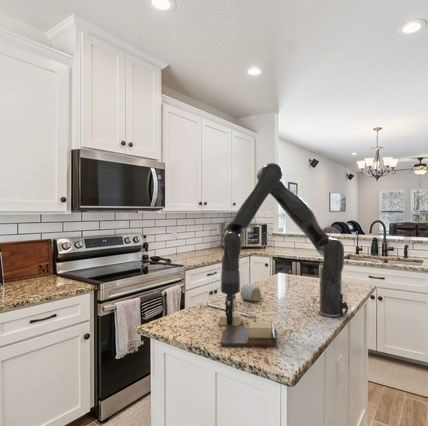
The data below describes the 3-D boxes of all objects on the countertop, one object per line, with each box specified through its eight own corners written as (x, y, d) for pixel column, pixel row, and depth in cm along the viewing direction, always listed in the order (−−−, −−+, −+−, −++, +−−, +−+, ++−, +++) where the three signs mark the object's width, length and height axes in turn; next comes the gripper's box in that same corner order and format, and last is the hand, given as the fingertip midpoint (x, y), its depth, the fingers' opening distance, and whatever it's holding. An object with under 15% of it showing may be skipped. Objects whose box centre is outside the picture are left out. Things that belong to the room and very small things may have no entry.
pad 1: (240, 320, 124) (240, 312, 124) (240, 325, 119) (240, 316, 119) (221, 320, 124) (221, 312, 124) (219, 325, 119) (219, 316, 119)
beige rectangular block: (271, 332, 110) (271, 322, 110) (271, 337, 105) (271, 327, 105) (249, 331, 110) (249, 322, 110) (248, 337, 105) (248, 327, 105)
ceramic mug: (252, 303, 147) (252, 287, 147) (240, 300, 152) (240, 285, 152) (265, 299, 155) (266, 284, 155) (253, 296, 160) (253, 281, 160)
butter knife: (210, 302, 146) (206, 303, 144) (254, 315, 129) (250, 317, 127) (210, 303, 146) (206, 305, 144) (254, 316, 129) (250, 318, 127)
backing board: (273, 330, 114) (273, 321, 114) (275, 347, 100) (275, 337, 100) (226, 330, 114) (226, 321, 114) (221, 346, 100) (221, 337, 100)
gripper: (238, 284, 114) (238, 329, 114) (240, 276, 128) (240, 315, 129) (218, 284, 114) (218, 328, 114) (223, 276, 128) (223, 315, 129)
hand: (230, 321), depth 121 cm, fingers open, 5 cm apart
